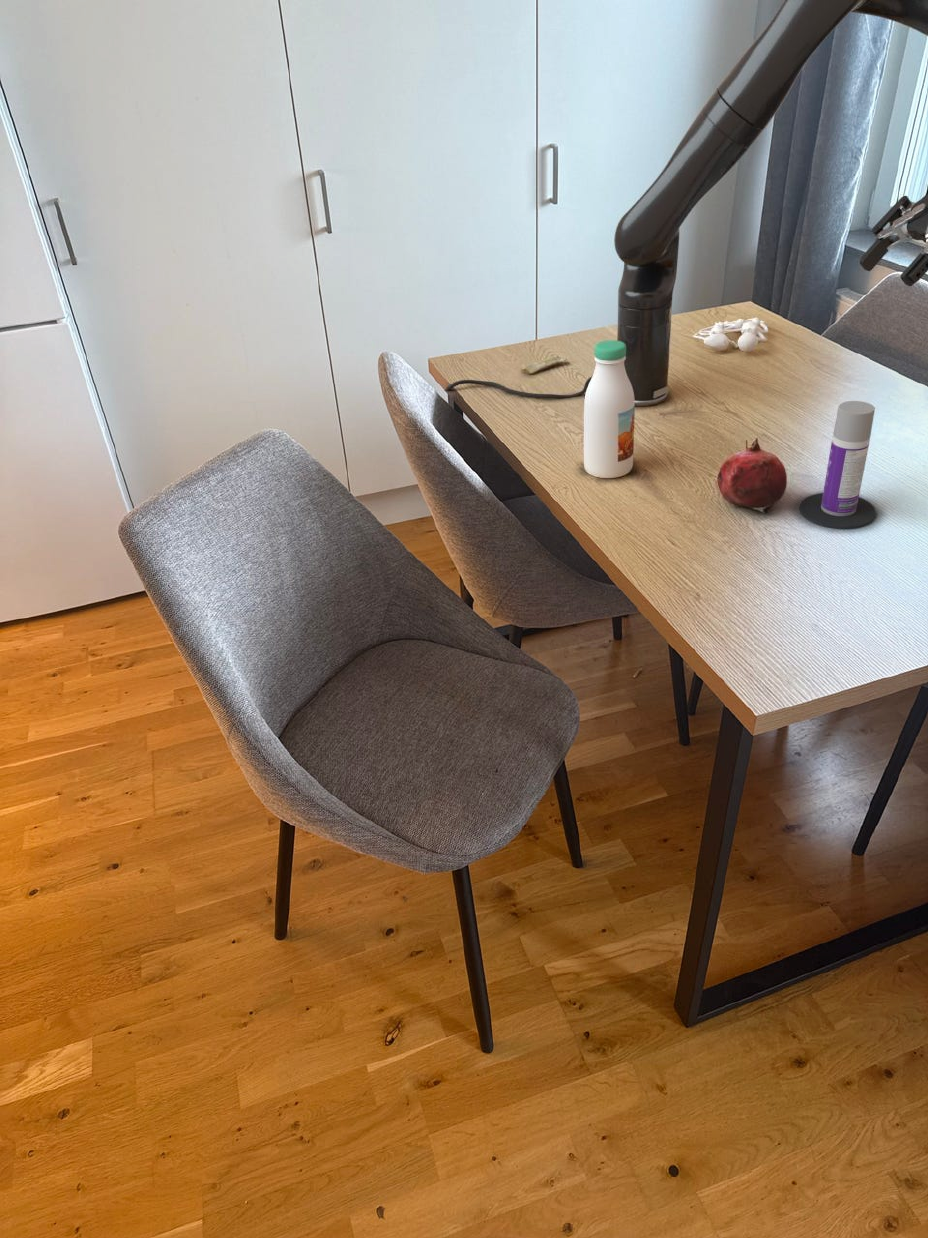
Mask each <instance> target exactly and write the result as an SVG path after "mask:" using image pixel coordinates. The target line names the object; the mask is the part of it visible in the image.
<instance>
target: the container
mask: <svg viewBox="0 0 928 1238" xmlns="http://www.w3.org/2000/svg"><path fill="white" fill-rule="evenodd" d="M837 408H838V409H837V412H836V418H835V422H834V429H833V433H832V439H831V444H830V449H829V455H828V460H827V461H828V462H827V468H826V474H825V479H824V486H823V490H822V493H823V497H822V503H821V509H822V510H823V511H824V512H826V513H828V514H830V515H834V516H849V515H852V514H854V513H855V512H856V508H857V504H858V498H859V497H860V493H861V488H862V483H863V478H864V472H865V468H866V463H867V459H868V458H867V457H868V453H869V446H870V441H871V435H872V430H873V429H872V428H873V423H874V416H875V410H876V407H875V406H874V405H873V404H872V403H869V402H865V401H862V400H861V401H860V400H848V401H844V402H841V403H839V404H838V407H837Z"/></svg>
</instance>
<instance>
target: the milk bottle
mask: <svg viewBox="0 0 928 1238" xmlns="http://www.w3.org/2000/svg"><path fill="white" fill-rule="evenodd" d="M593 351H594V352H593V353H594V359H593V360H594V361H595V367H594V371H593V374H592V375H591V376H592V379H591V381H590V383H589V385H588V387H587V390H586V392H585V393H584V395H585V396H584V403H583V468H584V470H585V472H586V473H587V474H589V475H591V476H593V477H596V478H601V479H615V478H621V477H623V476H626V475H627V474H629V473H630V472H631V471H632V469H633V467H634V451H635V450H634V448H635V414H636V411H635V407H636V406H635V400H634V392H633V388H632V385H631V383H630V381H629V378H628V376H627V374H626V370H625V366H624V360H625V359H626V357H625V355H626V345H625V343H623V342H621V341H617V339H615V340H613V339H611V340H610V339H608V340H603V341H599V342H597V343H595V345H594V349H593Z"/></svg>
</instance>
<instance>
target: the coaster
mask: <svg viewBox="0 0 928 1238" xmlns="http://www.w3.org/2000/svg"><path fill="white" fill-rule="evenodd" d="M822 497H823V492H819V493H815V494H811V495H809V496H807V497H805V498H804V499H802V500H801V502H800V505H799V512H800V514H801V515H802V517H803V518H804V519H806V520H807V521H809V522H811V523H812V524H815V525H818V526H821V527H825V528H829V529H834V530H835V529H836V530H851V529H858V528H862V527H865V526H867V525H870V524H871V523H872V522H873V521H874V520H875V518H876V515H877V510H876V508H875V506H874V505H873V504H872V503H870V502H869V501H868V500H866V499H865V498H862V497H860V496H859V498H858V504H857V508H856V512H855V513H854V514H852V515H849V516H834V515H830V514H828V513H826V512H824V511H823V510H822V509H821V503H822Z"/></svg>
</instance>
